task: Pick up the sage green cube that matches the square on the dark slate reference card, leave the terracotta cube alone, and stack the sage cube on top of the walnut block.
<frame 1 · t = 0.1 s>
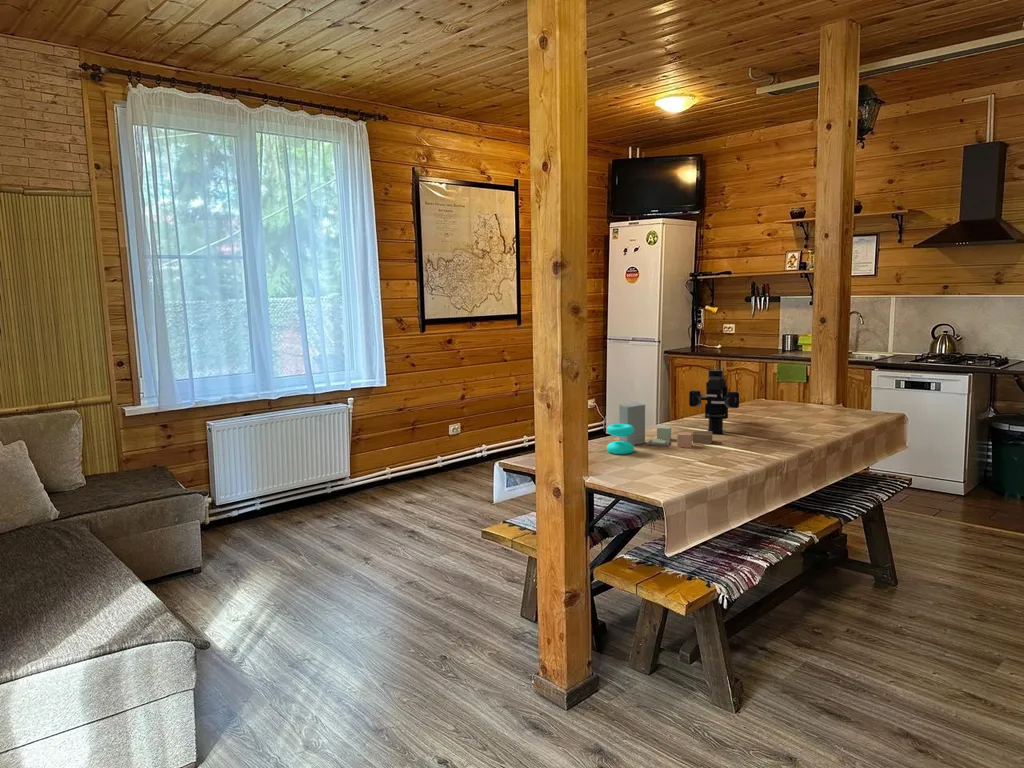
hand: (712, 402, 268), 17 cm above the table, tool horizontal, fingers open, 9 cm apart
donuts: (620, 452, 263), on the table
walnut block: (702, 442, 276), on the table
reference card: (658, 443, 275), on the table
skincare box: (632, 444, 276), on the table
terracotta cube: (684, 446, 270), on the table
sage cube: (664, 439, 283), on the table
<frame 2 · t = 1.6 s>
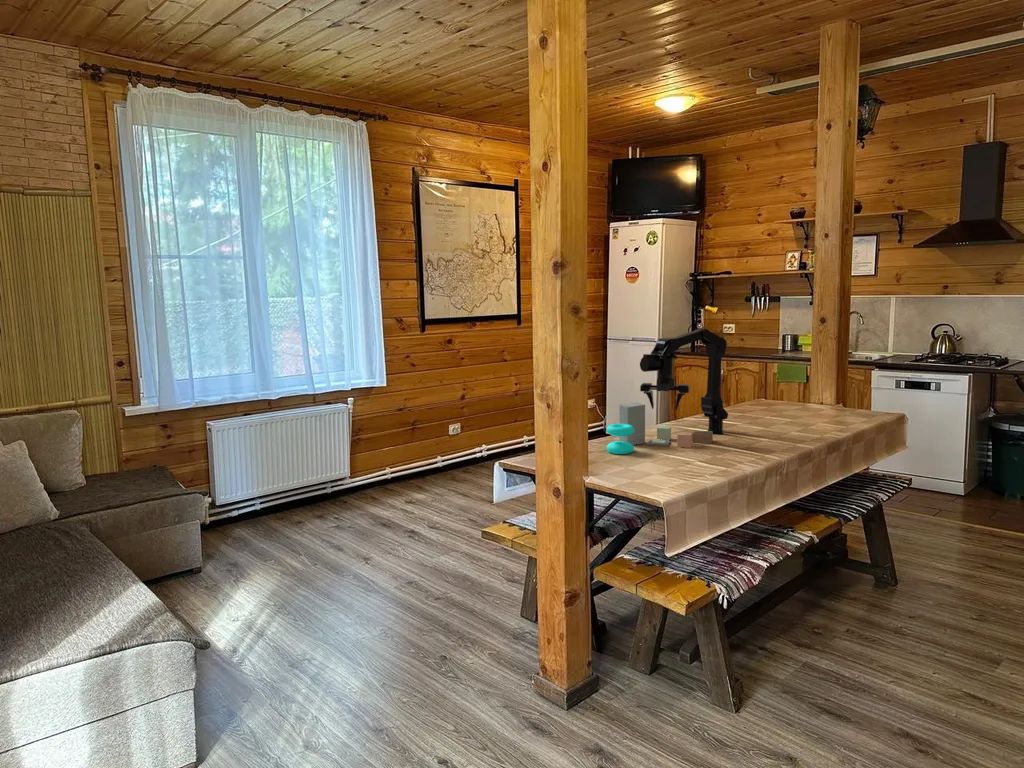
hand: (664, 409, 281), 12 cm above the table, tool pointing down, fingers open, 9 cm apart
nothing on the table moved.
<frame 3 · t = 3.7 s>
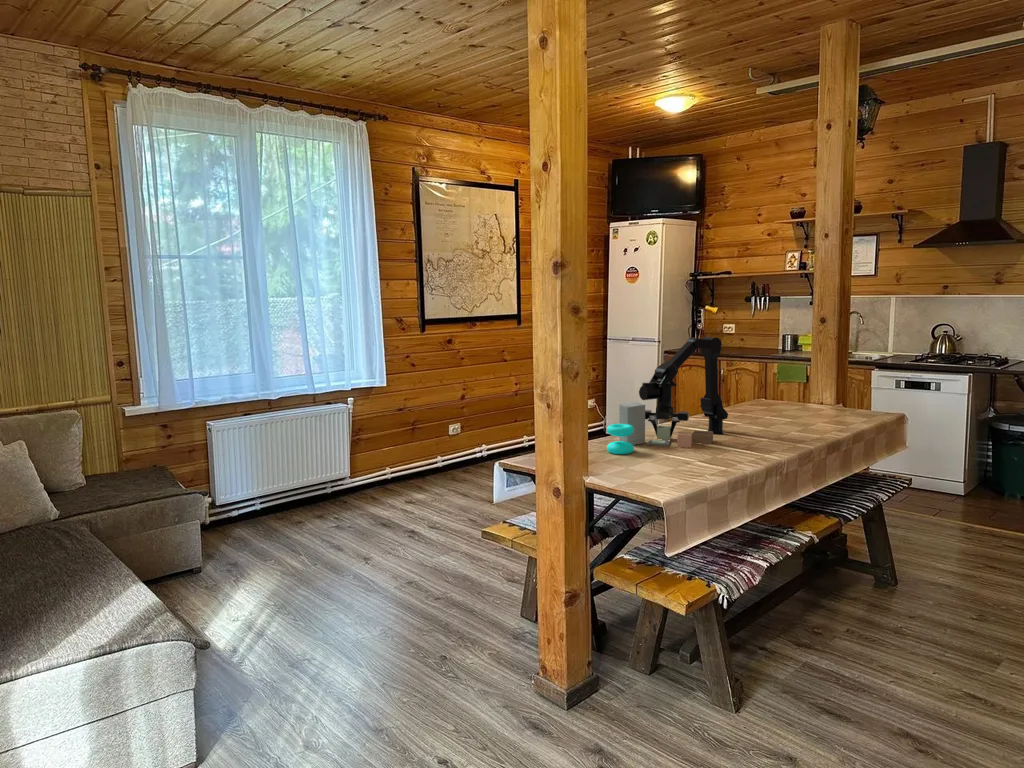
hand: (664, 436, 283), 1 cm above the table, tool pointing down, fingers closed on sage cube, 5 cm apart
sage cube: (664, 439, 283), on the table, touching gripper
everything else where it was.
when the fingers open (6 cm above the table, at t = 8.1 s): sage cube drops 2 cm, point 4 cm above the table.
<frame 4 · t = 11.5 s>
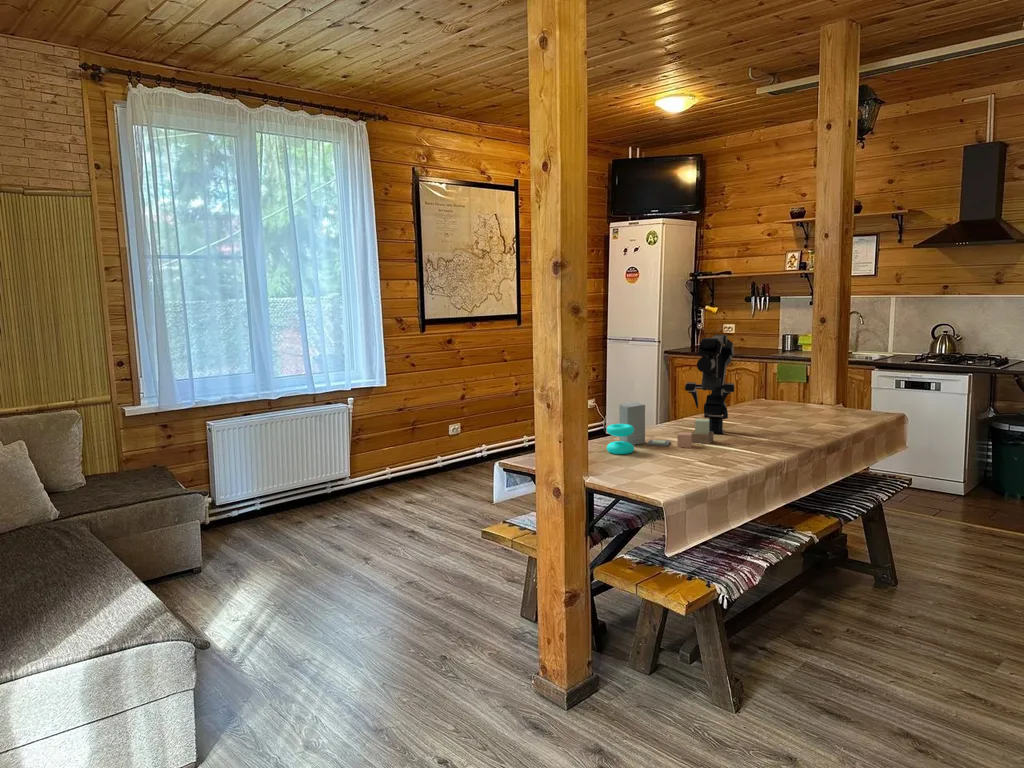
hand: (709, 408, 282), 12 cm above the table, tool pointing down, fingers open, 9 cm apart
sage cube: (702, 432, 276), point 4 cm above the table
everything else where it was.
at the end: sage cube 0.1 cm off-centre on the walnut block, point 4.0 cm above the walnut block's base; sage cube tilted 0°; the gripper is holding nothing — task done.
